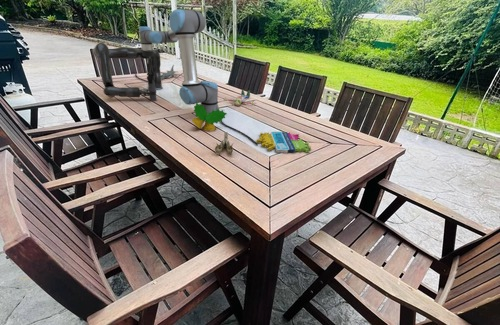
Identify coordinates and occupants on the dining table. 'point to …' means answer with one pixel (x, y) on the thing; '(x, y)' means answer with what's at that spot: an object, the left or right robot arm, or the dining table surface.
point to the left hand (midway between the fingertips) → (155, 92)
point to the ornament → (207, 117)
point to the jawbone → (224, 145)
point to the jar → (152, 89)
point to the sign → (283, 142)
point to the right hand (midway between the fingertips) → (151, 82)
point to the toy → (241, 99)
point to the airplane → (169, 74)
